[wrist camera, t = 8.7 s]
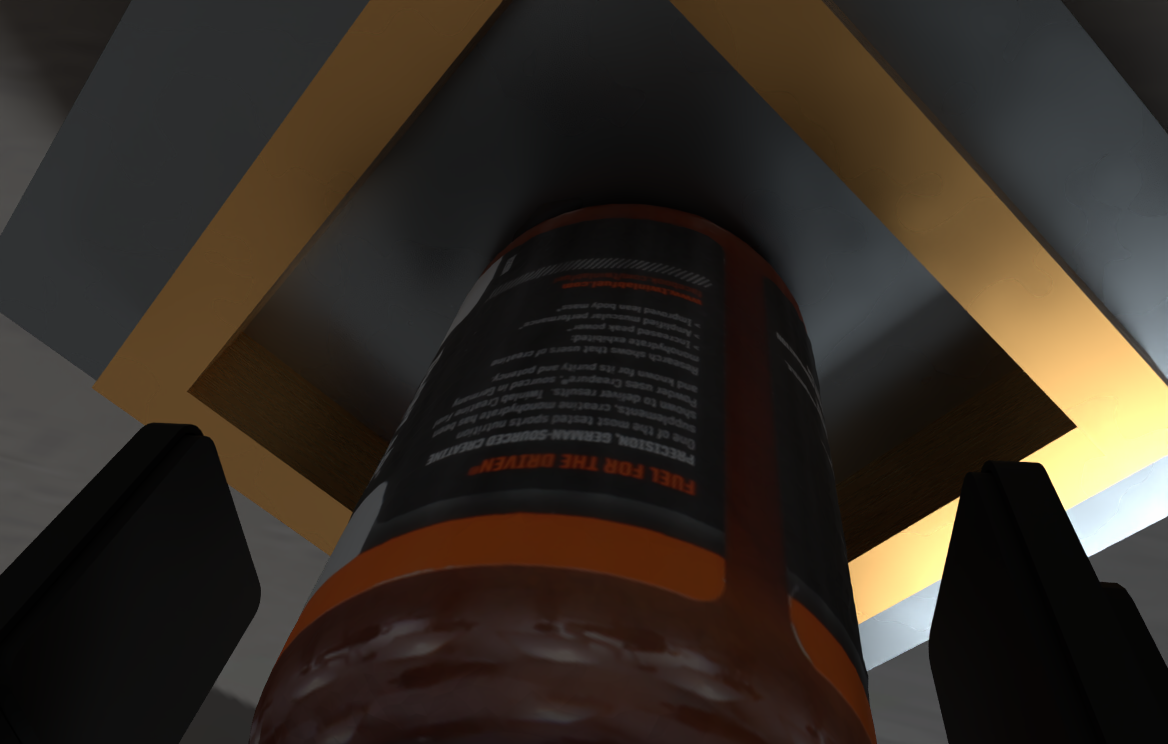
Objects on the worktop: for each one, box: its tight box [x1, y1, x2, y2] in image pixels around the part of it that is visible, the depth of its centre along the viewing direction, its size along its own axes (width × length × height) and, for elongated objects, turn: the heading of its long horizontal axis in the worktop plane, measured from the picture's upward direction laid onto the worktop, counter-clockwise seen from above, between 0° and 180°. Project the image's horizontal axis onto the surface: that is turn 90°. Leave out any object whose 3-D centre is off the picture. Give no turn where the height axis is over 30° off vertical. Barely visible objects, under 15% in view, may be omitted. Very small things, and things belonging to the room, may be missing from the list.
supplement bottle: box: [249, 204, 877, 744], centre depth 11 cm, size 6×6×11 cm
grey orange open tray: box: [0, 0, 1168, 671], centre depth 16 cm, size 22×16×7 cm
